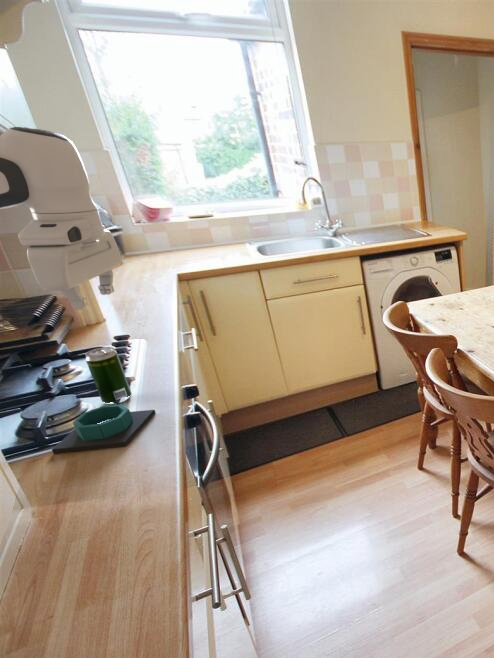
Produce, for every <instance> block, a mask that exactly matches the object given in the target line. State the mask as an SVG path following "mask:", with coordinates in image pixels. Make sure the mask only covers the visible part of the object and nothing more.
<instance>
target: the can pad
mask: <svg viewBox="0 0 494 658" xmlns="http://www.w3.org/2000/svg"><path fill="white" fill-rule="evenodd" d="M155 415H156V411H155V409H148V410H147V409H145V410H135V411H130V408H128V407H127V406H126V405H124V404H123V403H119V404H115V405H102V406H99V407H97V408H94V409H91V410H87V411H85V412H83V413H82V414H80V415H79V416H78V417H77V418H76V419H74V420H73V421H72V425H73V426H74V429H73V430H72V431H71V432H70V433H68V434H67V435H66V436H65V437H64V438H63V439H62V440H61V441H59V442H58V443H57V444H56V445H55V446H54V447H52V448H51V451H52V453H53V455H54V454H63V453H73V452H74V453H75V452H83V451H92V450H102V449H103V450H104V449H113V448H122V447H123V448H124V447H127V446H128V445H129V444H130V442H132V440H133V439H134V438H135V437H136V436H137V435H138V434H139V433H140V432H141V430H142V429H143V428H144V427H145V426H146V425H147V424H148V423H149V422H150V421H151V419H152V418H153V417H154V416H155ZM113 418H114V419H113ZM107 419H111V420H109V421H106V422H103V423H101V424H97V423H100V422H102V421H105V420H107Z"/></svg>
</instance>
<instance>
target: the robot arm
mask: <svg viewBox="0 0 494 658" xmlns="http://www.w3.org/2000/svg"><path fill="white" fill-rule="evenodd" d="M86 170H87V169H86V168H85V165H84V163H83V160H82V158H81V156H80V153H79V150H78V149H77V147H76V146H75V144H74V143H73V141H72V140H70V138H68V137H66V136H65V135H63V134H61V133H58V132H55V131H51V130H46V129H45V130H44V129H39V128H32V127H31V128H30V127H26V126H13V127H9V128H7V129H6V130H5V131H4V132H3V133H1V134H0V210H5V209H11V208H17V207H21V206H25V207H27V208H28V209H29V211H30V214H31V217H32V219H31V220H29V222H28V224H27V225H26V226H25V227H24V228H22V230H20V231H19V232H18V234H17V236H18V240H19V243H20V244H21V245H22V246H24V247H28V248H27V250H26V256H27V259H28V263H29V266H30V268H31V270H32V273H33V275H34V278H35V280H36V282H37V284H38V285H39V286H40V287H41V288H42V289H43V290H44V291H46V292H58V291H59V292H60V293H61V294H62V295H63V297H65V298H66V299H67V300H68V301H69V303H70V306H71V308H72V310H75V311H76V310H84V309H86V308H88V307H89V303H88V300H87V297H83V296H82V294H81V293H80V291H81V288H80V285H81V284H83V283H86V282H88V281H90V280H93V279H94V278H97V277H99V278H98V279H99V285H98V286H97V288H98V290H99V294H100V295H102V296H105V295H106V296H107V295H108V296H109V295H111V294H113V293H115V289H114V286H113V285H114V284H113V281H114V272H113V270H114V269H116V268H119V267H120V266H122V255H121V252H120V250H119V247H118V244H117V242H116V240H115V238H114V235H113V234H112V232H111V231H110V230H107V227H106V225H104V224H103V222H102V219H101V216H100V212H99V209H98V205H96V203H95V202H94V200H93V198H92V196H91V182H90V179H89V176H88V173H87V171H86Z"/></svg>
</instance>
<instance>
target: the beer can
mask: <svg viewBox="0 0 494 658" xmlns="http://www.w3.org/2000/svg"><path fill="white" fill-rule="evenodd" d="M84 355H85V358H84V359H85V363H86V366H87V367H88V369H89V372H90V375H91V377H92V379H93V382H94V385H95V388H96V391H97V393H98V395H99V397H100V400H101V402H102V403H103V402H105V403H110V402H116V401H118V400H119V399H121V398H122V397H128V396H130V395H131V396H132V394H133V393H132V390H131V388H130V384H129V382H128V379H127V376H126V374H125V371H124V368H123V365H122V362H121V359H120V358H119V354H118V352H117V350H116V349H115V348H114V347H113V346H103V347H97V348H94V349H91V350H88V351H87V352H85V354H84Z"/></svg>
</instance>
